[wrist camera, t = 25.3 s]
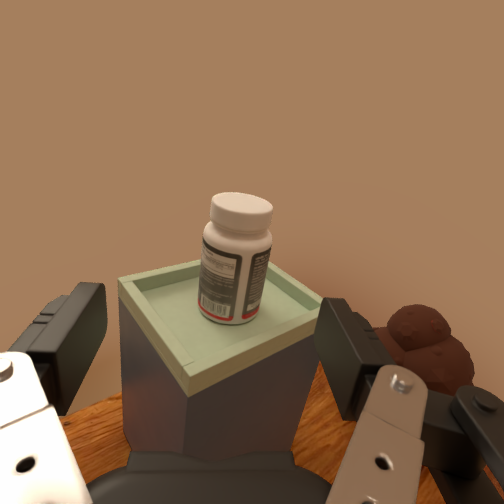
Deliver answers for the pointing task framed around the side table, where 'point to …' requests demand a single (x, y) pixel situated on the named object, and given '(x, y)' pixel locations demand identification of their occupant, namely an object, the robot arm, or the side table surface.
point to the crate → (212, 401)
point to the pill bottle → (234, 257)
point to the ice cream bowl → (427, 348)
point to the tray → (215, 323)
